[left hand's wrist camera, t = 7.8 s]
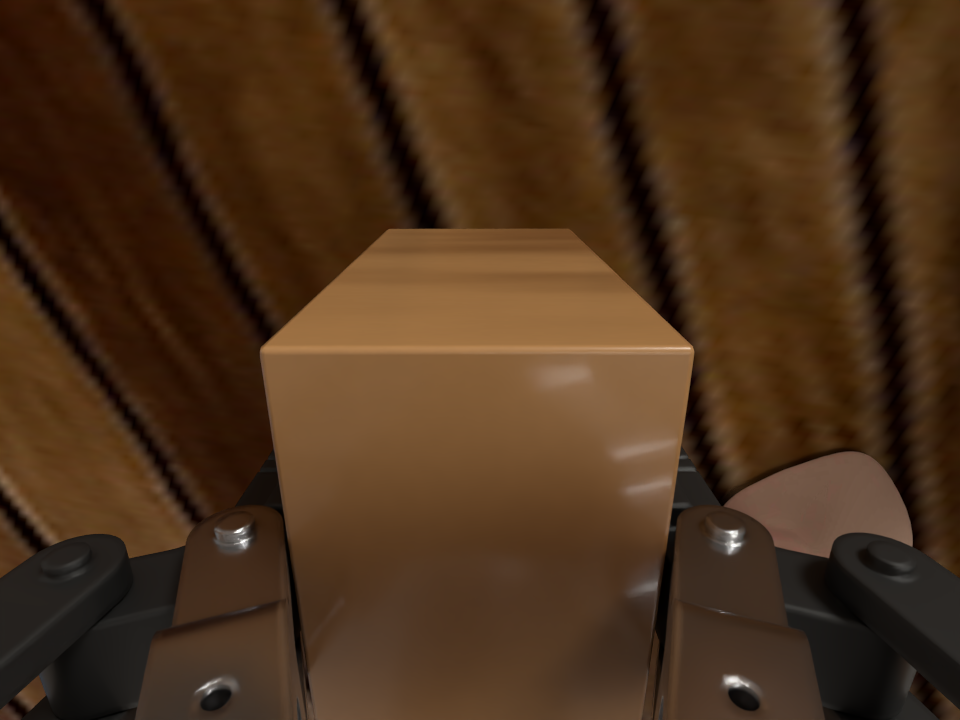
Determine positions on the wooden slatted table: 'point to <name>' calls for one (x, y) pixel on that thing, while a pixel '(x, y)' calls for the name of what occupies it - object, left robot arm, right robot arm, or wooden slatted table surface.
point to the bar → (477, 478)
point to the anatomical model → (826, 503)
